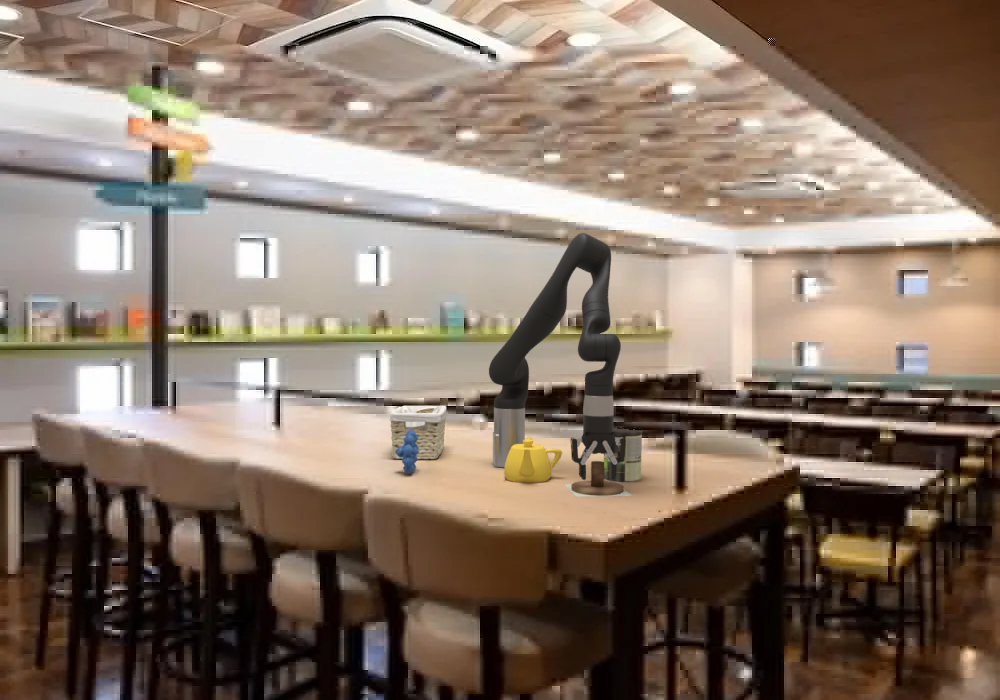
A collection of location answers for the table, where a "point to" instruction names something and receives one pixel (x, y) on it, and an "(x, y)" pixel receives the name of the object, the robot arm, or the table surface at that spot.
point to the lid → (597, 483)
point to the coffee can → (626, 457)
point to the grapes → (409, 451)
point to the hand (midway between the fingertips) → (597, 478)
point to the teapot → (529, 462)
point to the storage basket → (419, 429)
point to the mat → (593, 495)
